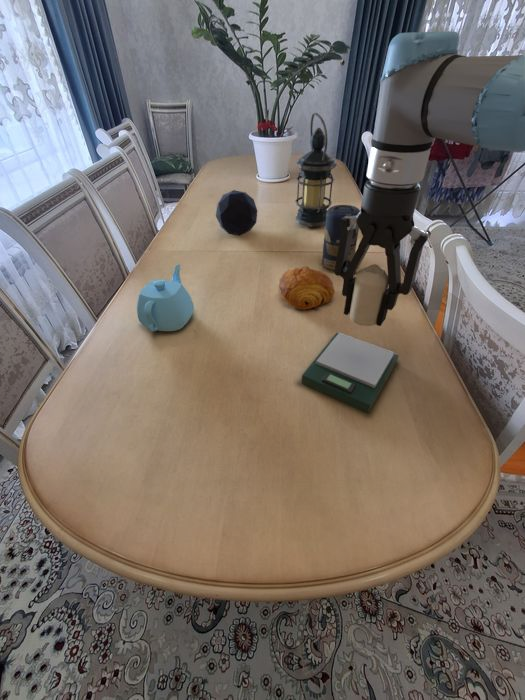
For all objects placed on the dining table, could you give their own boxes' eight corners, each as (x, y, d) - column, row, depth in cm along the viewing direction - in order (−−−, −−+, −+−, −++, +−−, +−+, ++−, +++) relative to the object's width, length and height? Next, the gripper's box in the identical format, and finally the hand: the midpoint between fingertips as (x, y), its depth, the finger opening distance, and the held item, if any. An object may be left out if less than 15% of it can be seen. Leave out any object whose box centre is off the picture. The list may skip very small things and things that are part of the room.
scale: (396, 363, 74) (399, 351, 72) (368, 413, 64) (371, 402, 62) (335, 340, 80) (337, 329, 78) (301, 383, 70) (302, 372, 68)
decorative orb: (211, 210, 130) (211, 183, 115) (250, 206, 132) (255, 178, 118) (219, 245, 127) (220, 221, 112) (259, 239, 130) (265, 216, 115)
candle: (351, 306, 67) (360, 258, 60) (381, 312, 65) (393, 263, 59) (346, 322, 63) (354, 273, 56) (377, 329, 61) (389, 279, 55)
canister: (345, 276, 102) (355, 214, 90) (316, 268, 106) (321, 208, 94) (357, 262, 108) (367, 202, 96) (328, 255, 112) (335, 197, 100)
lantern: (335, 229, 128) (349, 114, 104) (300, 233, 125) (307, 117, 102) (321, 215, 138) (331, 108, 115) (289, 218, 136) (293, 110, 113)
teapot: (201, 264, 86) (168, 304, 73) (206, 301, 94) (177, 343, 81) (155, 259, 89) (116, 297, 76) (164, 295, 96) (129, 335, 83)
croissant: (279, 317, 91) (279, 294, 85) (278, 280, 101) (277, 256, 95) (335, 316, 90) (339, 292, 84) (328, 278, 100) (331, 254, 94)
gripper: (320, 178, 50) (309, 310, 66) (458, 200, 42) (409, 345, 58) (342, 166, 55) (327, 292, 70) (470, 184, 47) (421, 322, 62)
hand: (364, 316), depth 64 cm, fingers closed on candle, 5 cm apart
